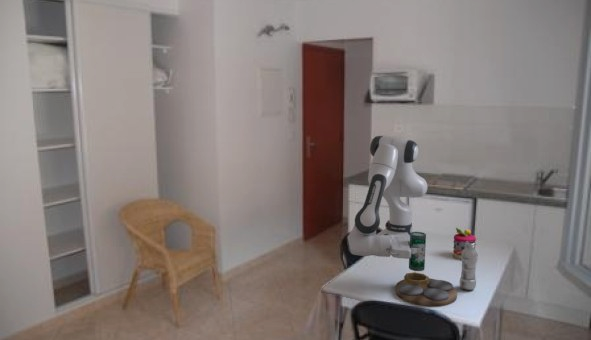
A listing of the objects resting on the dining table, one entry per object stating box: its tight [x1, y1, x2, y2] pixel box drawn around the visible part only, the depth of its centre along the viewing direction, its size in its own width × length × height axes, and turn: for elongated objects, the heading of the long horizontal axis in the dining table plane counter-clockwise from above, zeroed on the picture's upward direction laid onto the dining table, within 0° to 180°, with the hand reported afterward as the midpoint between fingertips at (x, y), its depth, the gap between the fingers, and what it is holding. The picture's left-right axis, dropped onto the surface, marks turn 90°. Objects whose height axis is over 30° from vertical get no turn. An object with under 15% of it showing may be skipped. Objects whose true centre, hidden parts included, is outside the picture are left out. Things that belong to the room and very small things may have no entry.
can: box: [408, 231, 427, 272], centre depth 196 cm, size 6×6×15 cm
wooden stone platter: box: [395, 271, 458, 307], centre depth 192 cm, size 24×24×4 cm
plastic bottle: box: [459, 241, 479, 291], centre depth 195 cm, size 6×7×20 cm
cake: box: [452, 227, 477, 261], centre depth 233 cm, size 10×10×15 cm
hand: (419, 247), depth 196 cm, fingers closed on can, 6 cm apart
